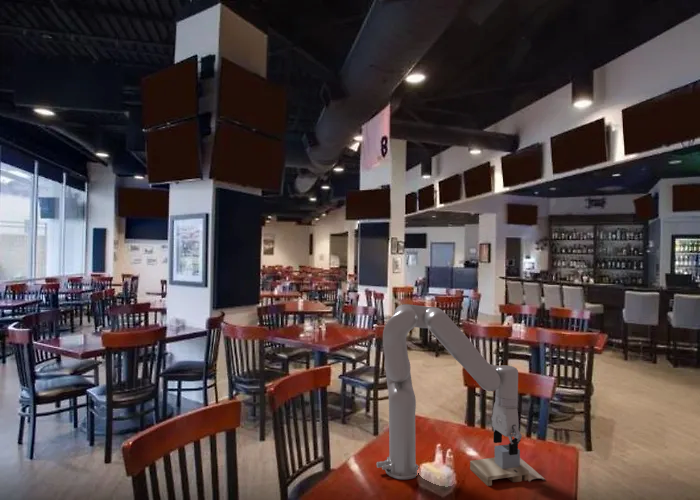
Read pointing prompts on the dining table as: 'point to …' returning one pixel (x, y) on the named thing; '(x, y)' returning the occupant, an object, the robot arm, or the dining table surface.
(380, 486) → the dining table surface
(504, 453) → the grey hollow block
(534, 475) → the beige piece
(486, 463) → the miniature wooden pallet
